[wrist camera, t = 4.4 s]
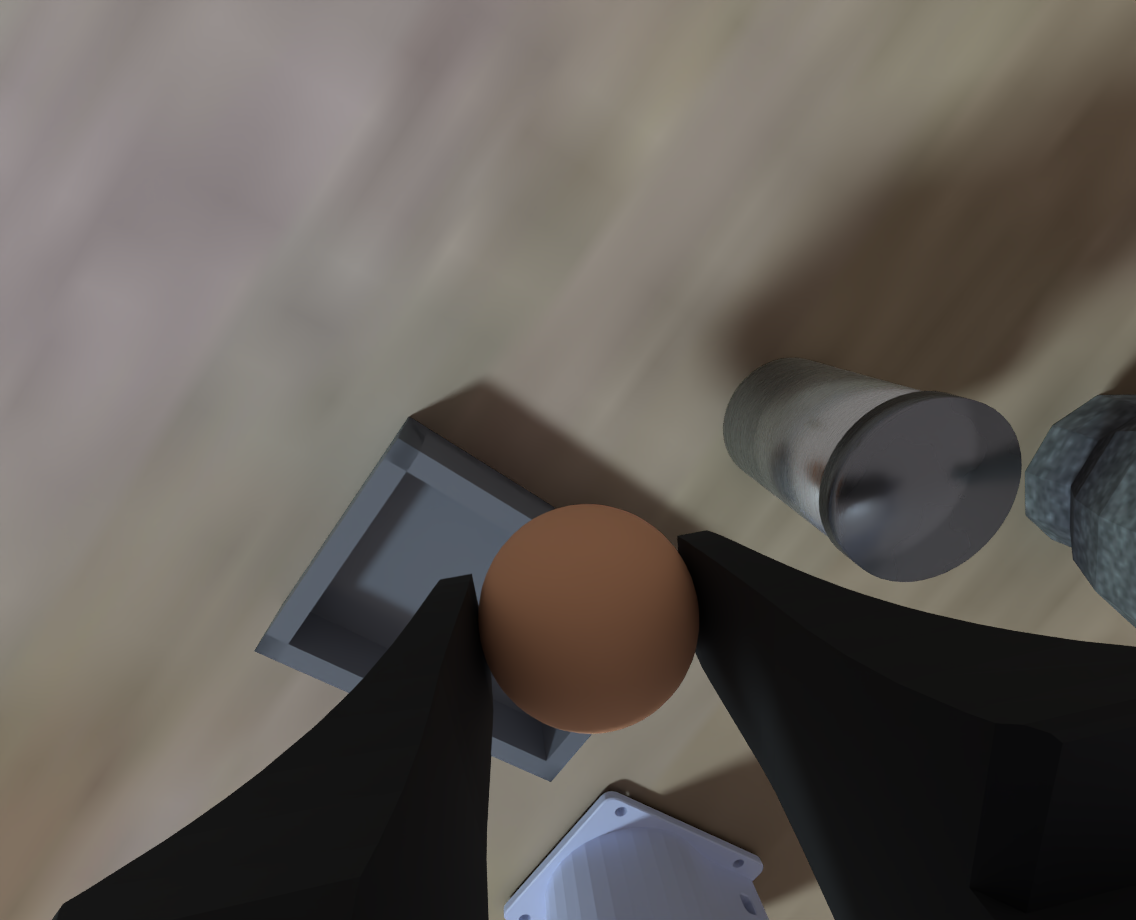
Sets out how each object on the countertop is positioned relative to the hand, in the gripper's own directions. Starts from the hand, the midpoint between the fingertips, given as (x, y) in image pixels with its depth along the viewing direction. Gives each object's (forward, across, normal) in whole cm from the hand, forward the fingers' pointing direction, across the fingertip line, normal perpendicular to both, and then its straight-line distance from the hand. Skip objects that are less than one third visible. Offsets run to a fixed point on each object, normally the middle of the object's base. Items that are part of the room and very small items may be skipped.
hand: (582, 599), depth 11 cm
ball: (+1, 0, 0) cm, 1 cm away
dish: (+8, +3, +4) cm, 10 cm away
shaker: (+8, -8, 0) cm, 12 cm away
